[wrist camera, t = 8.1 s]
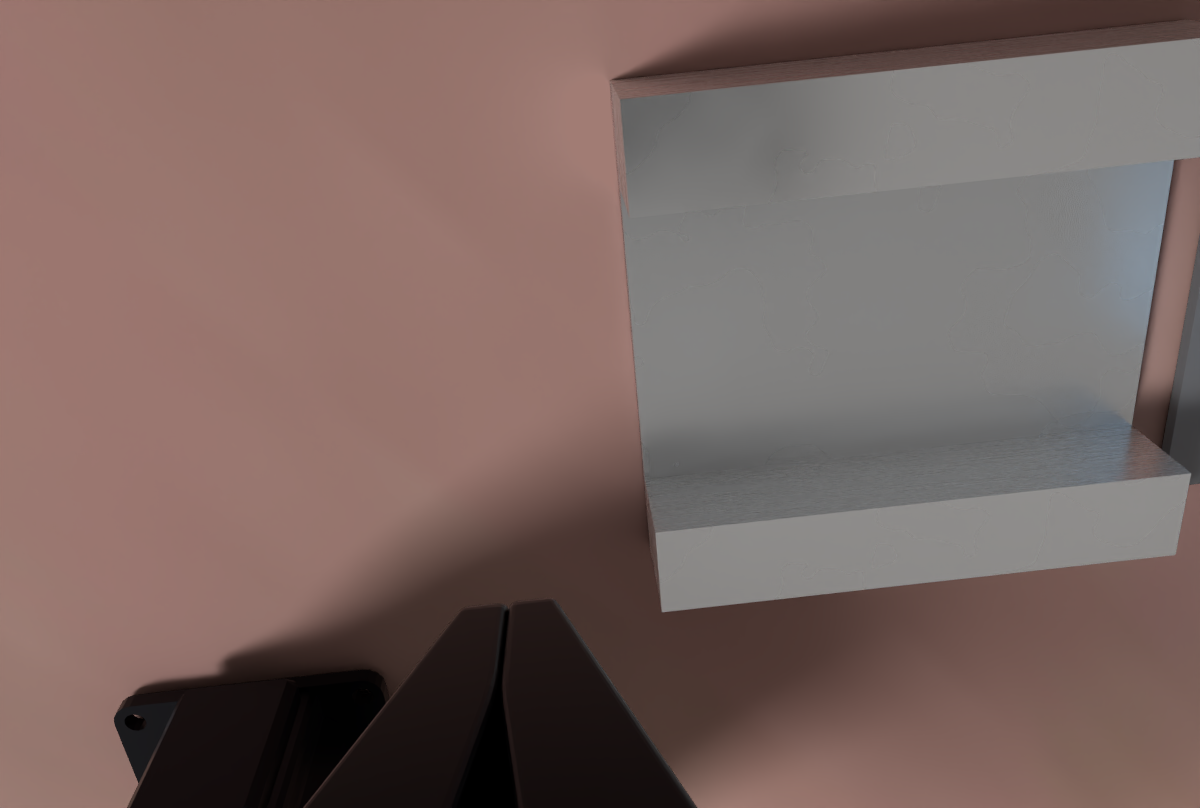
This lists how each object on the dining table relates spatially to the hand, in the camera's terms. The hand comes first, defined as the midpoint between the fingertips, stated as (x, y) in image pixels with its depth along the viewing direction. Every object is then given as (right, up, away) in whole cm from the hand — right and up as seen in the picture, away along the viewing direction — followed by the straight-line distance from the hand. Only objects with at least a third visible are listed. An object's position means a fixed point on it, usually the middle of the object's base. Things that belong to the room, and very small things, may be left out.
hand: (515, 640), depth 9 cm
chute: (+7, +4, +12) cm, 15 cm away
